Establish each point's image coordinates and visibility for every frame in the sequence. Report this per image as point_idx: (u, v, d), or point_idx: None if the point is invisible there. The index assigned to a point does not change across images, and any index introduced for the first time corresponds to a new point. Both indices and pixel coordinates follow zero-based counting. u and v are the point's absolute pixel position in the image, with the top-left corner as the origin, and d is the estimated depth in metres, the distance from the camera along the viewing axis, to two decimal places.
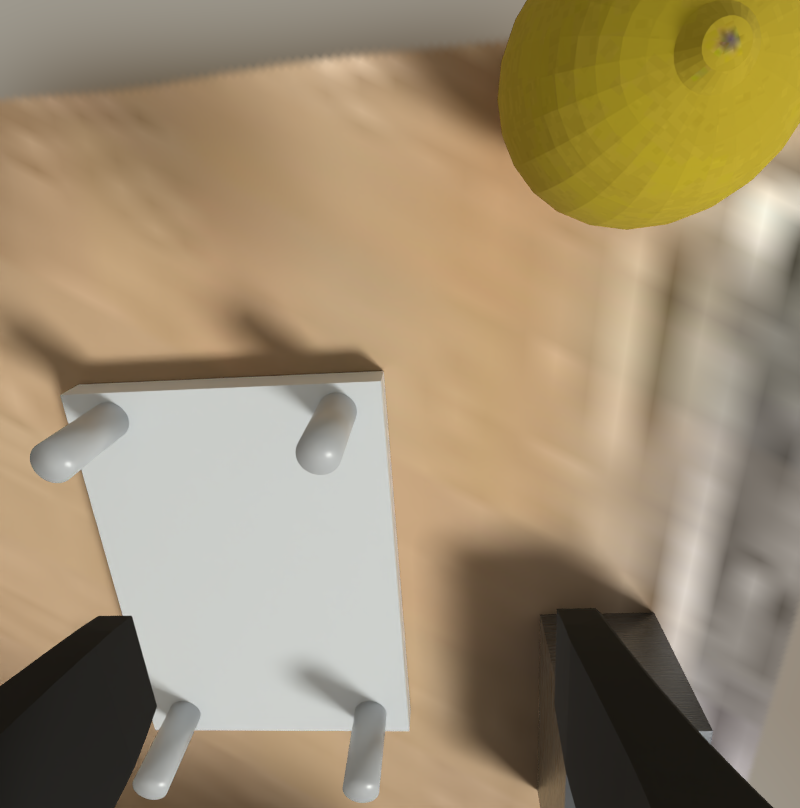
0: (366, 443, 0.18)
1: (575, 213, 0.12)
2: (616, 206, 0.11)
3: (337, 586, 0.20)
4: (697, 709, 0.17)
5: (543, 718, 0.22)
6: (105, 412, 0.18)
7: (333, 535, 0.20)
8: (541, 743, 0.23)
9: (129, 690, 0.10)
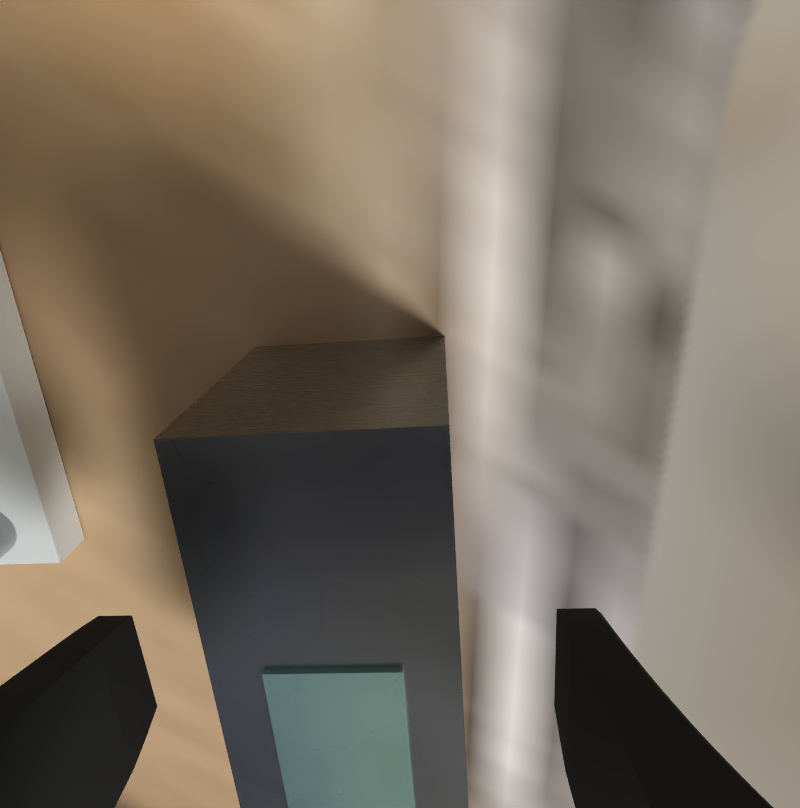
0: None
1: None
2: None
3: None
4: (439, 406, 0.08)
5: None
6: None
7: None
8: None
9: (129, 690, 0.10)
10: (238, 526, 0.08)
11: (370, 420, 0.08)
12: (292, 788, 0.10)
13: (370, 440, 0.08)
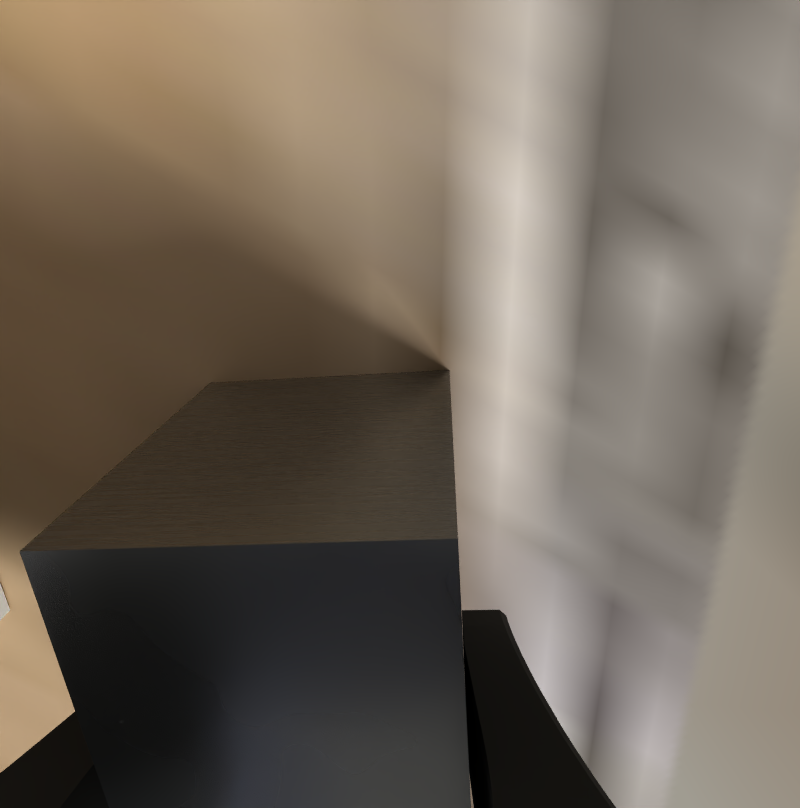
0: None
1: None
2: None
3: None
4: (442, 497, 0.06)
5: None
6: None
7: None
8: None
9: None
10: (152, 669, 0.06)
11: (341, 523, 0.05)
12: None
13: (339, 556, 0.05)
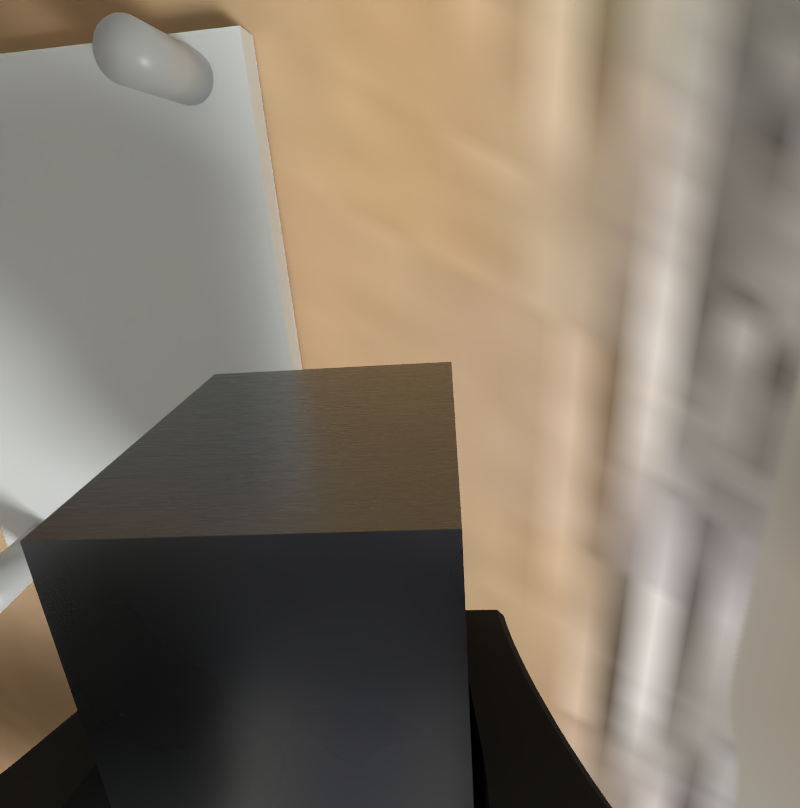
0: (230, 125, 0.14)
1: None
2: None
3: (213, 346, 0.16)
4: (445, 488, 0.06)
5: None
6: None
7: (201, 270, 0.15)
8: None
9: None
10: (153, 659, 0.06)
11: (343, 513, 0.05)
12: None
13: (342, 547, 0.05)
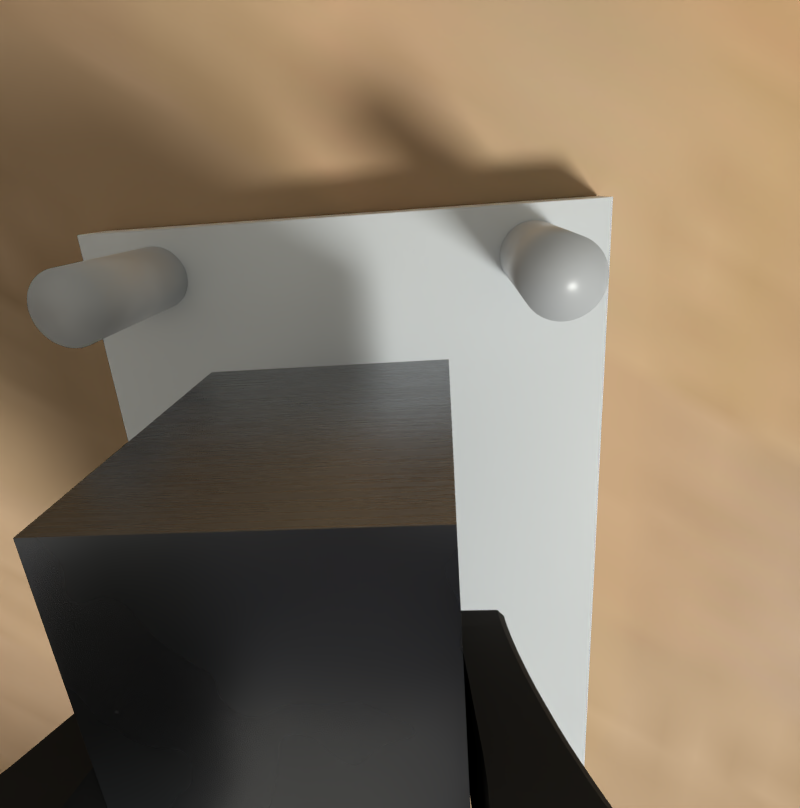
0: None
1: None
2: None
3: (500, 550, 0.13)
4: (441, 484, 0.06)
5: None
6: (152, 254, 0.11)
7: (503, 468, 0.13)
8: None
9: None
10: (147, 659, 0.06)
11: (338, 510, 0.05)
12: None
13: (338, 544, 0.05)
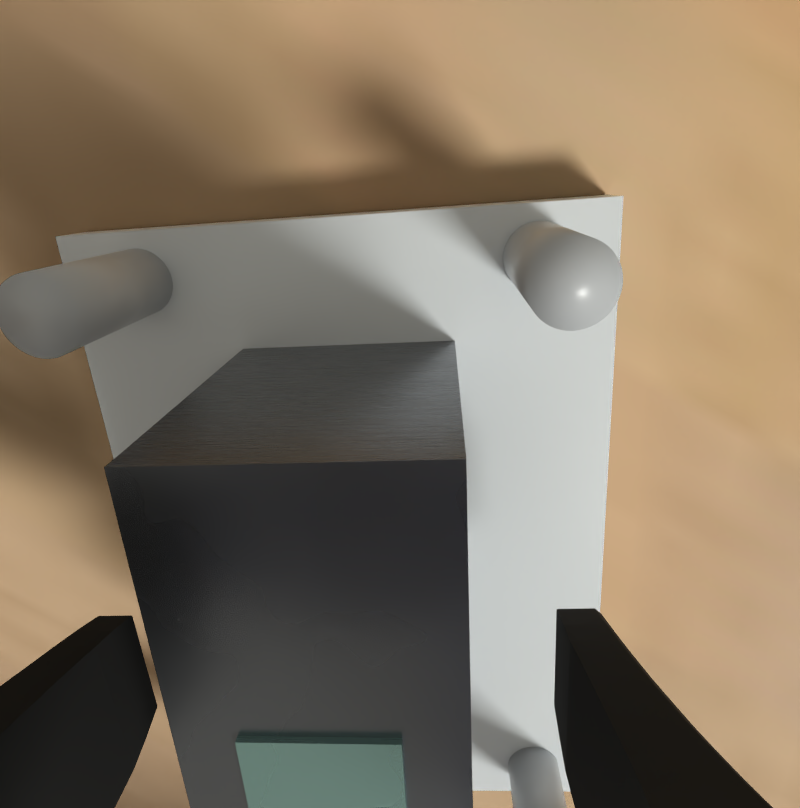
0: None
1: None
2: None
3: (503, 567, 0.13)
4: (452, 432, 0.07)
5: None
6: (134, 257, 0.10)
7: (506, 482, 0.12)
8: None
9: (129, 690, 0.10)
10: (208, 571, 0.07)
11: (369, 448, 0.07)
12: None
13: (369, 475, 0.06)
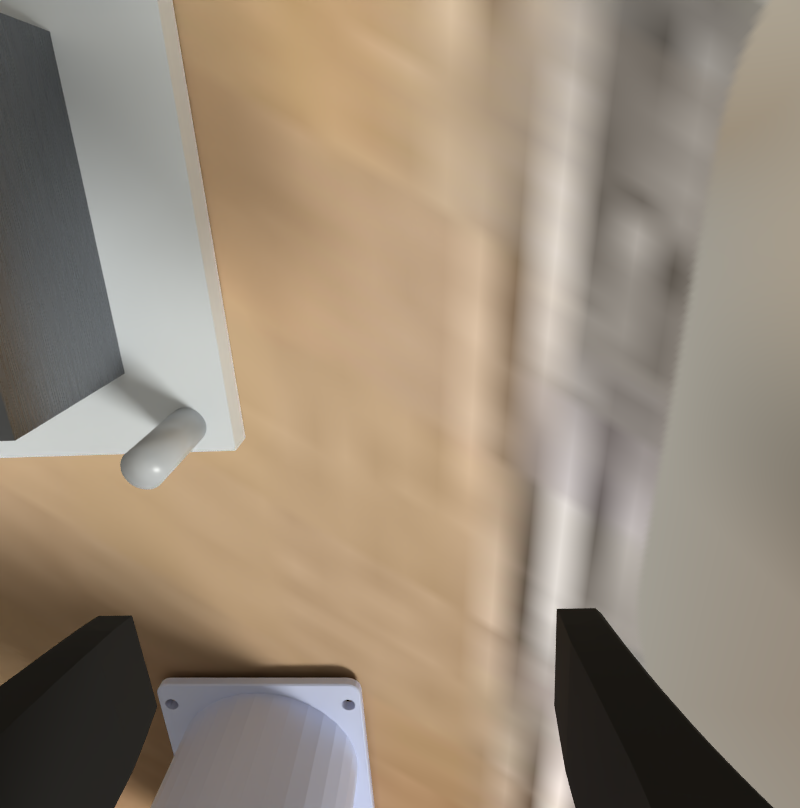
0: (134, 8, 0.15)
1: None
2: None
3: (125, 235, 0.17)
4: None
5: None
6: None
7: (111, 156, 0.16)
8: None
9: (129, 690, 0.10)
10: None
11: None
12: None
13: None
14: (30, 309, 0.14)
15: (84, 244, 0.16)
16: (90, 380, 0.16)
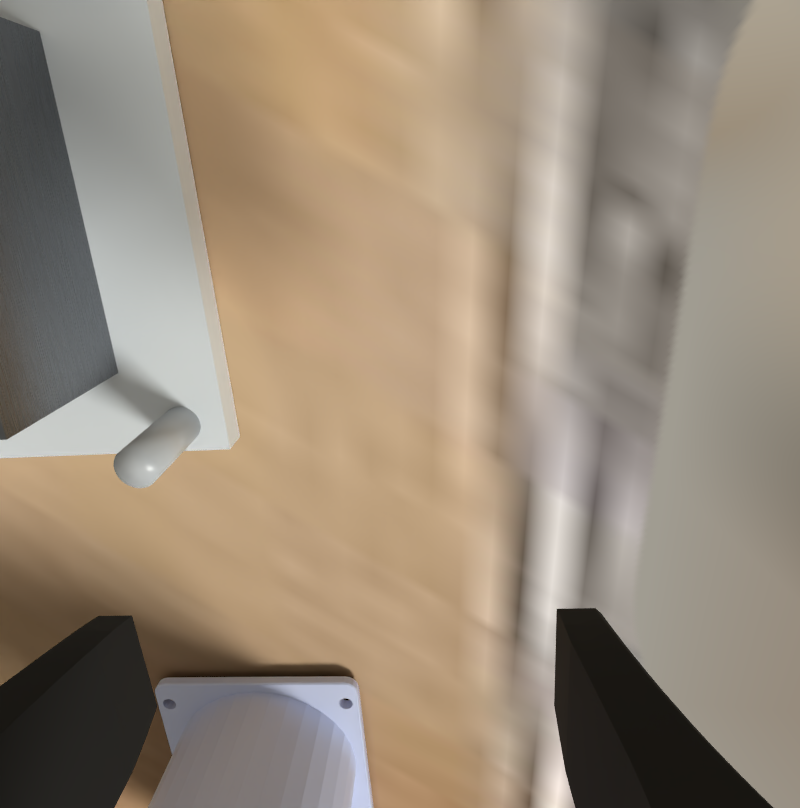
0: (124, 7, 0.15)
1: None
2: None
3: (118, 234, 0.17)
4: None
5: None
6: None
7: (103, 156, 0.16)
8: None
9: (129, 690, 0.10)
10: None
11: None
12: None
13: None
14: (21, 308, 0.14)
15: (76, 243, 0.16)
16: (83, 379, 0.16)
